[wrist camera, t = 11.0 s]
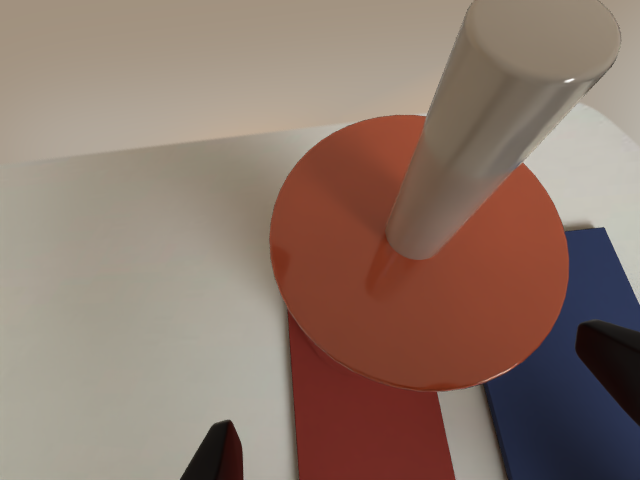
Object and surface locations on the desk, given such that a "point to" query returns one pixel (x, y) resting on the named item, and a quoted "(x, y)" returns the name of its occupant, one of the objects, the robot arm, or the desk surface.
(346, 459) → the oxblood mat
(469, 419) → the desk surface
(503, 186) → the orange red candle
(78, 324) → the desk surface
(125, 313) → the desk surface
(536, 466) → the navy mat
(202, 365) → the desk surface
